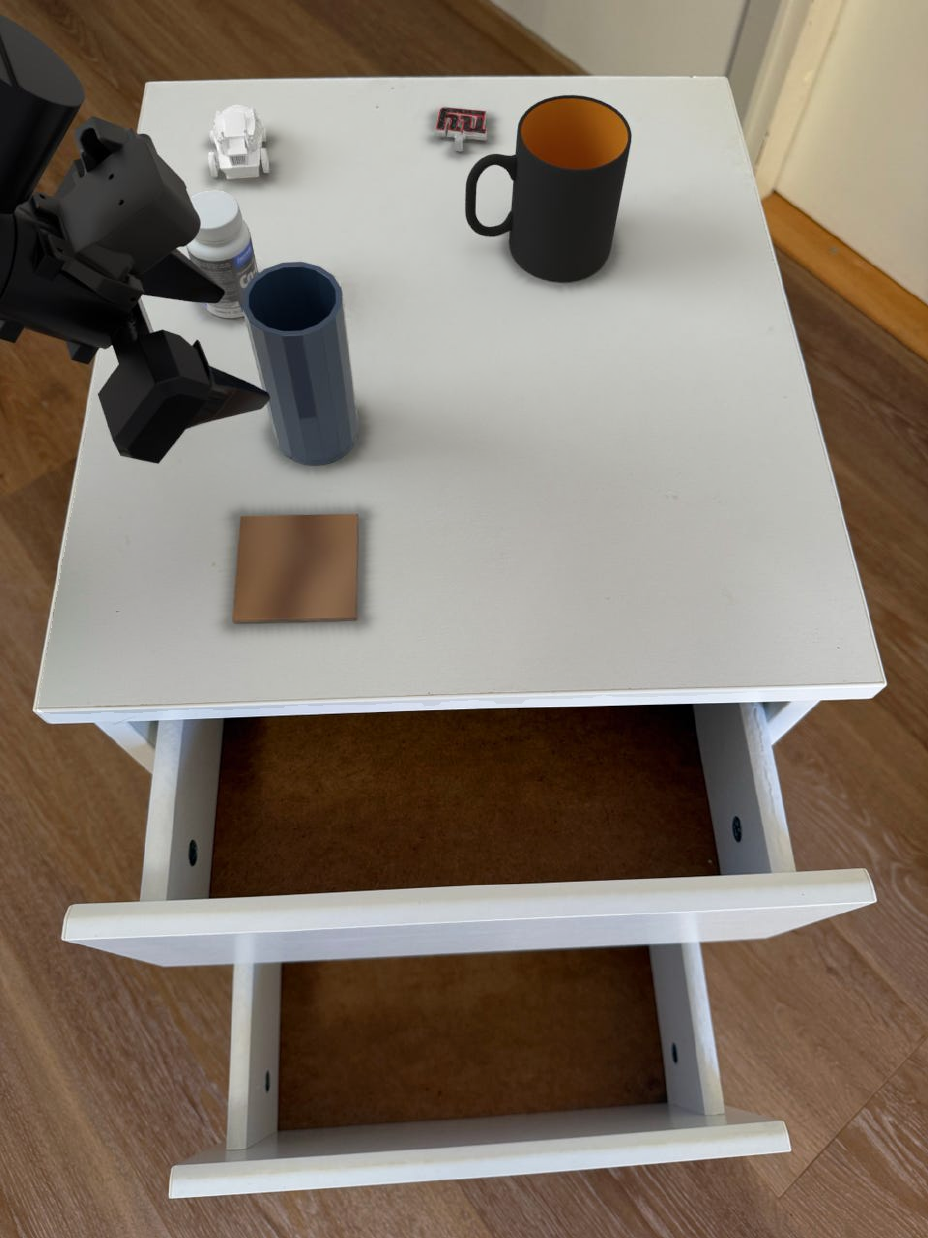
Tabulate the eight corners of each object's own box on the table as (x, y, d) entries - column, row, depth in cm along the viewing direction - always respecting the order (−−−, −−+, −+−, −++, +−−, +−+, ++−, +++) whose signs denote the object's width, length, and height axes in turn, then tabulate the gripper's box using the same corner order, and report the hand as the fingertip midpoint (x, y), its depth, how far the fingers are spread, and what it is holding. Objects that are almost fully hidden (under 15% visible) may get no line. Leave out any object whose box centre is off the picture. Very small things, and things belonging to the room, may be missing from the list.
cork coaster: (233, 623, 64) (232, 620, 63) (241, 519, 67) (240, 515, 67) (356, 620, 64) (356, 617, 64) (357, 516, 68) (357, 513, 67)
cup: (261, 452, 70) (226, 320, 58) (294, 390, 72) (265, 252, 61) (340, 474, 69) (320, 346, 58) (370, 410, 72) (356, 275, 60)
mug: (456, 217, 81) (458, 102, 72) (598, 205, 82) (618, 89, 73) (471, 291, 77) (475, 179, 68) (620, 277, 78) (643, 165, 69)
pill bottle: (259, 321, 75) (239, 233, 68) (198, 319, 75) (171, 231, 68) (266, 275, 78) (248, 186, 70) (207, 273, 78) (181, 184, 70)
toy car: (213, 191, 82) (202, 147, 78) (210, 127, 85) (200, 83, 82) (271, 186, 82) (263, 142, 78) (265, 123, 86) (257, 78, 82)
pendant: (490, 108, 86) (485, 142, 83) (490, 120, 87) (484, 154, 84) (439, 103, 86) (432, 137, 83) (439, 115, 87) (432, 149, 84)
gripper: (113, 264, 41) (376, 365, 53) (21, 10, 49) (269, 149, 61) (0, 437, 47) (261, 493, 59) (-67, 185, 54) (176, 280, 66)
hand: (243, 347), depth 61 cm, fingers open, 9 cm apart
